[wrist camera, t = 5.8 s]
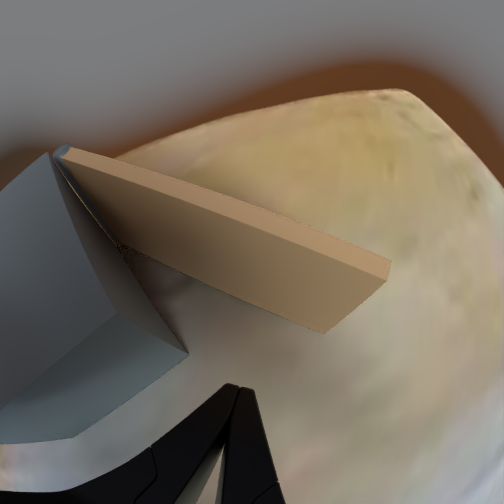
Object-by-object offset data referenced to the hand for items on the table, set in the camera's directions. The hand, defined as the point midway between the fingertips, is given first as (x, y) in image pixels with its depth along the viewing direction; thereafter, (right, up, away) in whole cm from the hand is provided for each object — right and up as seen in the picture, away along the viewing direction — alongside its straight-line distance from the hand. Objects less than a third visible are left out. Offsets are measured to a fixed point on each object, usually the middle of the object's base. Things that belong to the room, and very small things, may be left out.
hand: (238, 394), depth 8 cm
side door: (-2, +3, +11) cm, 11 cm away
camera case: (-11, -2, +9) cm, 14 cm away
